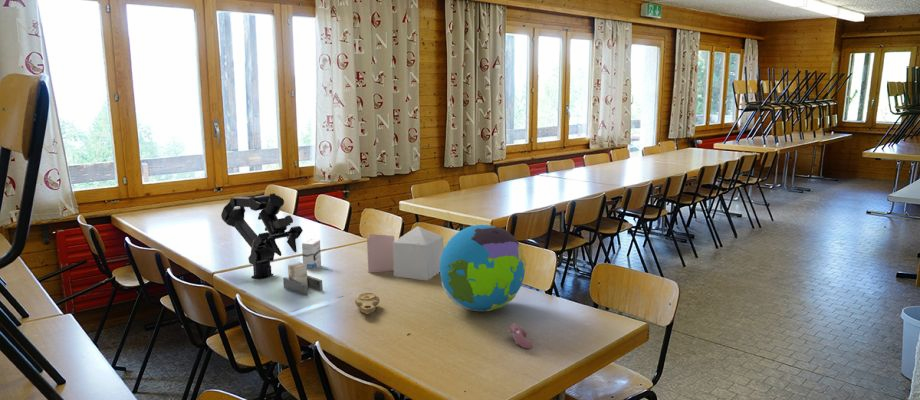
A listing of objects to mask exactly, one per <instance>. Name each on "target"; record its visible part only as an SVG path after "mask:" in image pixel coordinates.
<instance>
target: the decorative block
mask: <svg viewBox="0 0 920 400" xmlns="http://www.w3.org/2000/svg"><path fill="white" fill-rule="evenodd" d="M443 250H444V237H443V236H441V235H440V234H437V233H436V232H434V231H430V230H428V229H425V228H423V227H422V226H416V227H414V228H412V229H411V230H409V231H408V232H406V233H405V234H403V235H401V236H400V237H399V238H397V239H396V240H394V243H393V261H394V270H393V277H396V278H397V277H399V278H404V279H406V278H407V279H413V280H421V281H428V280H430V279H433V278H434V277H435V276H437V275H439V274H440V273H439V272H440V259H441V255H442V252H443ZM436 274H437V275H436ZM433 276H434V277H433Z"/></svg>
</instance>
